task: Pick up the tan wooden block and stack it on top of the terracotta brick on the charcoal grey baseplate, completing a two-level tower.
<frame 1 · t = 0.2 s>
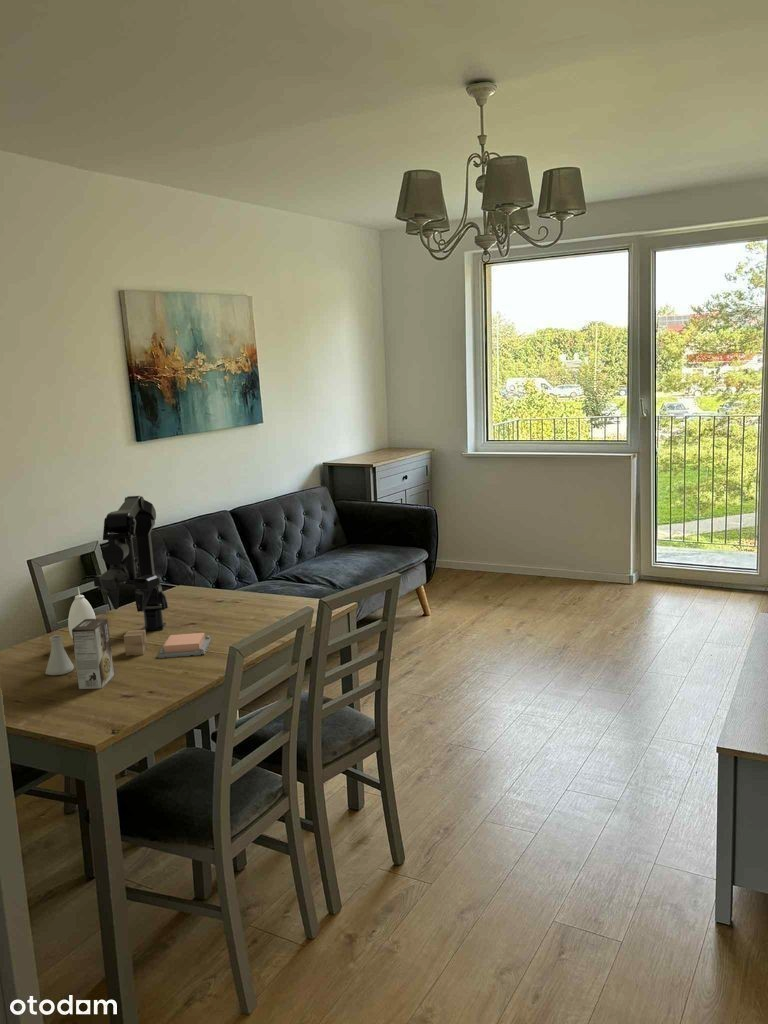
hand: (129, 610, 232), 14 cm above the table, tool pointing down, fingers open, 9 cm apart
sauce bottle: (85, 645, 247), on the table
flask: (60, 672, 225), on the table
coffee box: (96, 683, 215), on the table
brick base: (185, 649, 238), on the table
tan wooden block: (136, 652, 237), on the table
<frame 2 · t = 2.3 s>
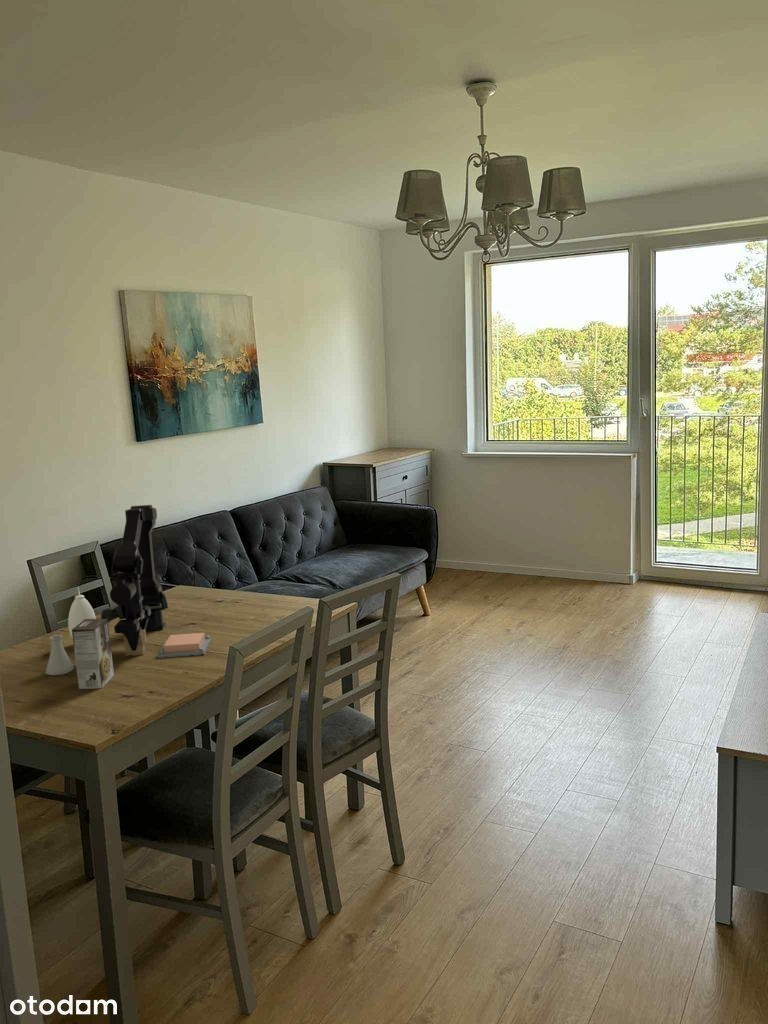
hand: (136, 647, 237), 2 cm above the table, tool pointing down, fingers closed on tan wooden block, 5 cm apart
tan wooden block: (136, 652, 237), on the table, touching gripper
everything else where it was.
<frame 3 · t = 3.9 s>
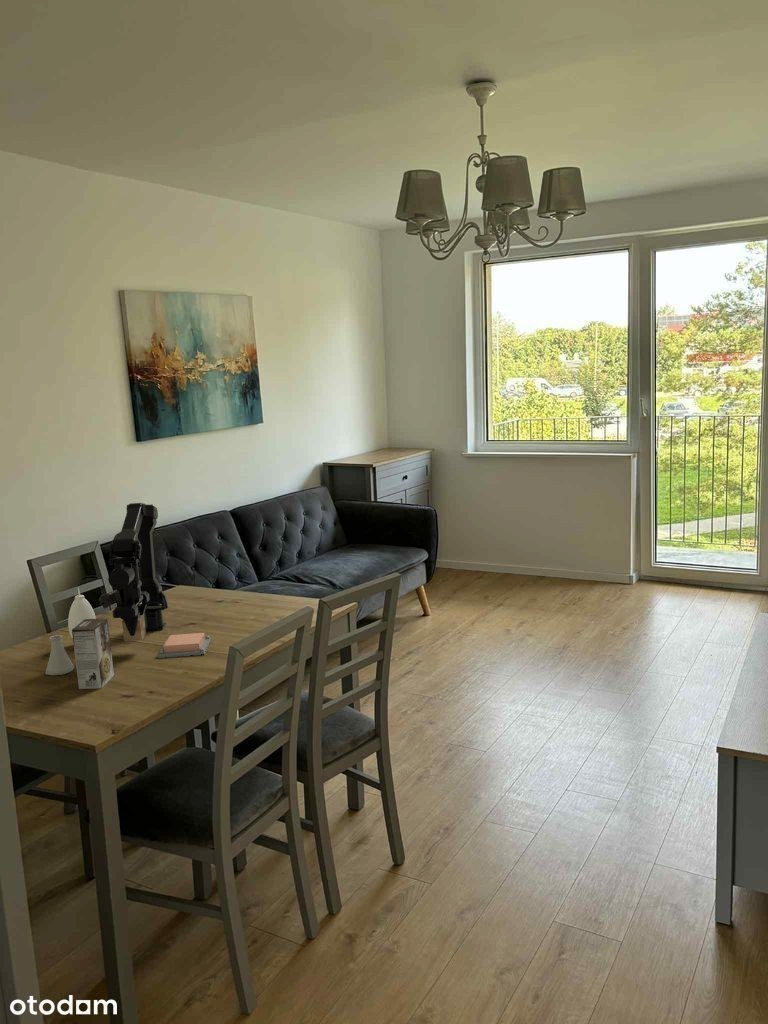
hand: (134, 632, 236), 6 cm above the table, tool pointing down, fingers closed on tan wooden block, 5 cm apart
tan wooden block: (135, 638, 237), point 4 cm above the table, touching gripper
everything else where it was.
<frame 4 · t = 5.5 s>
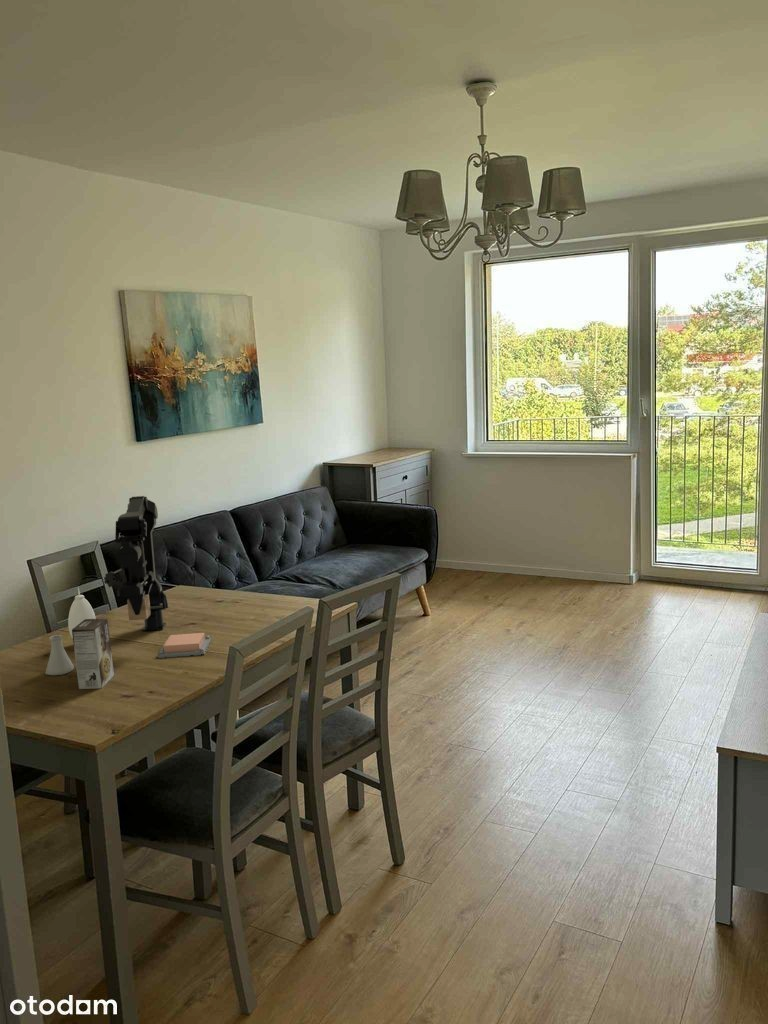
hand: (139, 612, 236), 12 cm above the table, tool pointing down, fingers closed on tan wooden block, 5 cm apart
tan wooden block: (140, 617, 236), point 10 cm above the table, touching gripper
everything else where it was.
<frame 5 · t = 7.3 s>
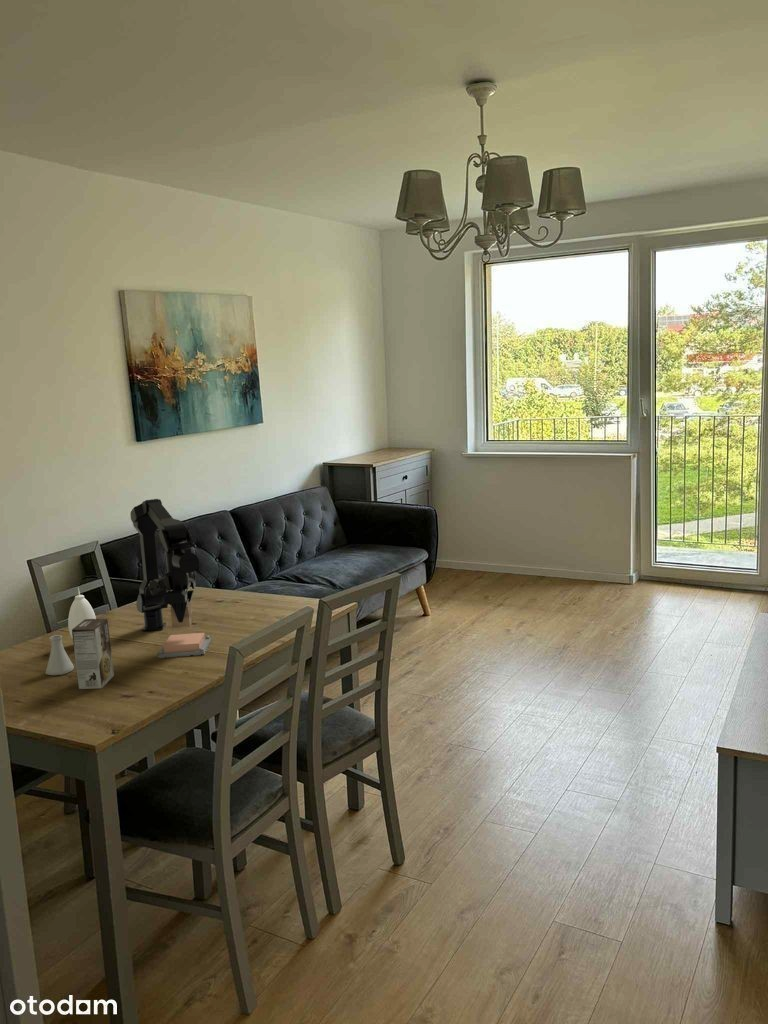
hand: (182, 619, 237), 9 cm above the table, tool pointing down, fingers closed on tan wooden block, 5 cm apart
tan wooden block: (182, 624, 237), point 7 cm above the table, touching gripper
everything else where it was.
when the fingers open (6 cm above the table, at t = 8.7 s): tan wooden block drops 1 cm, resting on brick base.
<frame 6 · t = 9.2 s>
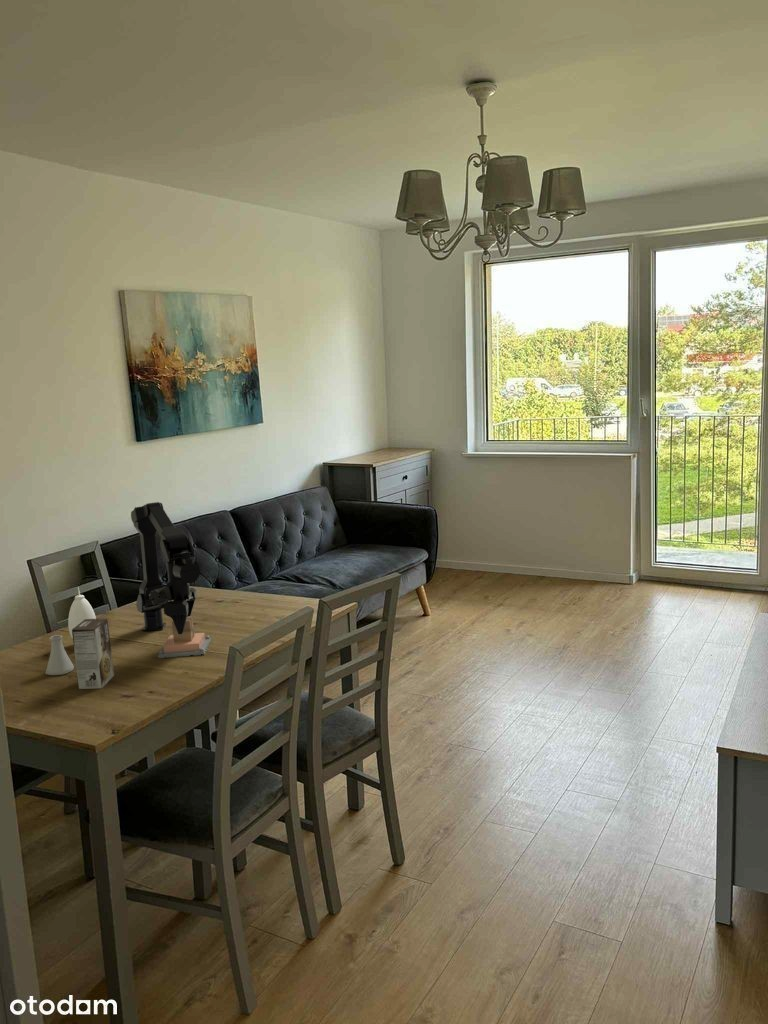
hand: (183, 629, 237), 6 cm above the table, tool pointing down, fingers open, 9 cm apart
tan wooden block: (184, 639, 238), point 3 cm above the table, touching brick base
everything else where it was.
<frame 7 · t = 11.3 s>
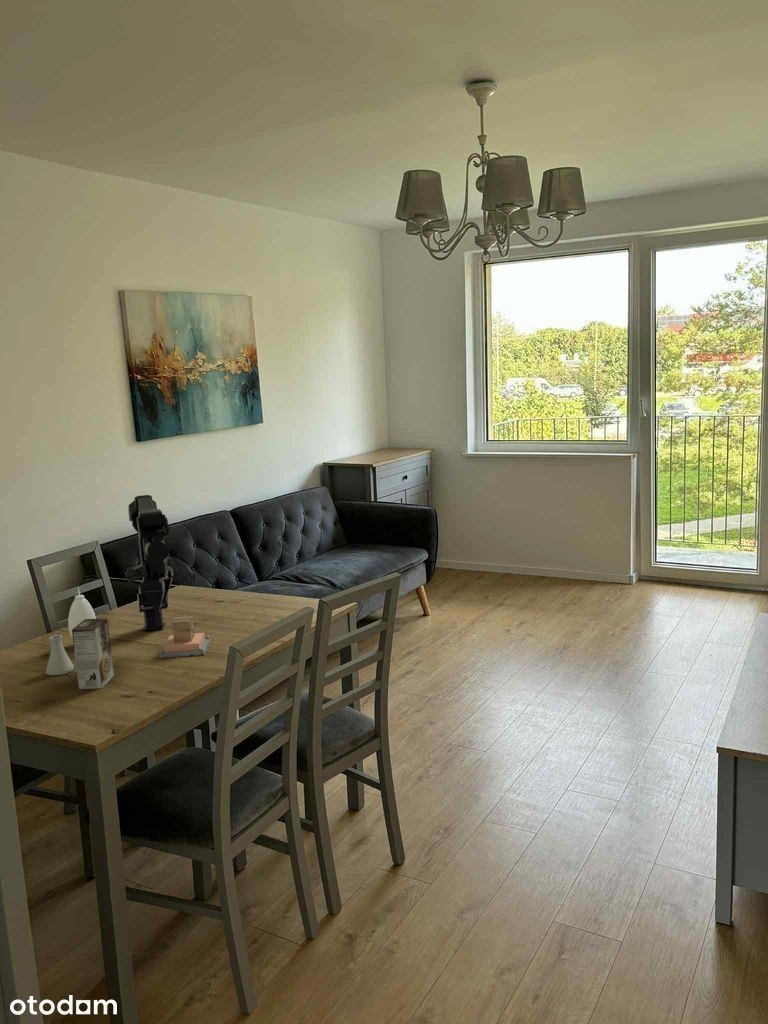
hand: (160, 607, 236), 13 cm above the table, tool pointing down, fingers open, 9 cm apart
nothing on the table moved.
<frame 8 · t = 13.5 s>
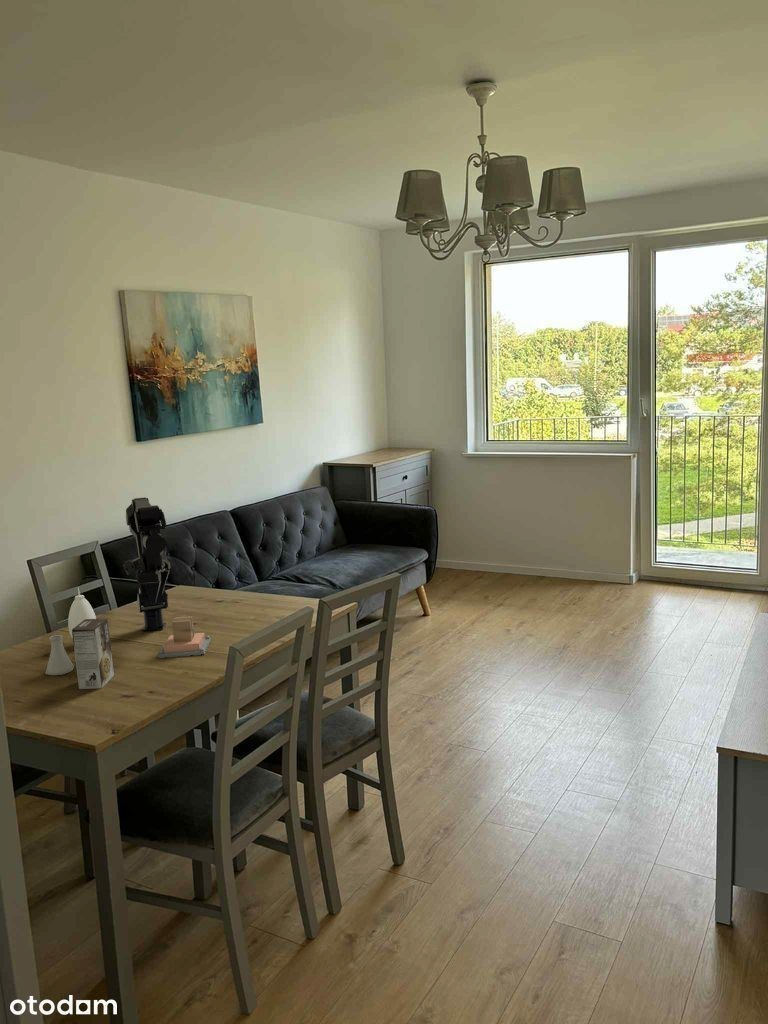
hand: (156, 598, 245), 13 cm above the table, tool pointing down, fingers open, 9 cm apart
nothing on the table moved.
at the end: tan wooden block 0.0 cm off-centre on the brick base, point 3.0 cm above the brick base's base; tan wooden block tilted 0°; the gripper is holding nothing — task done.
